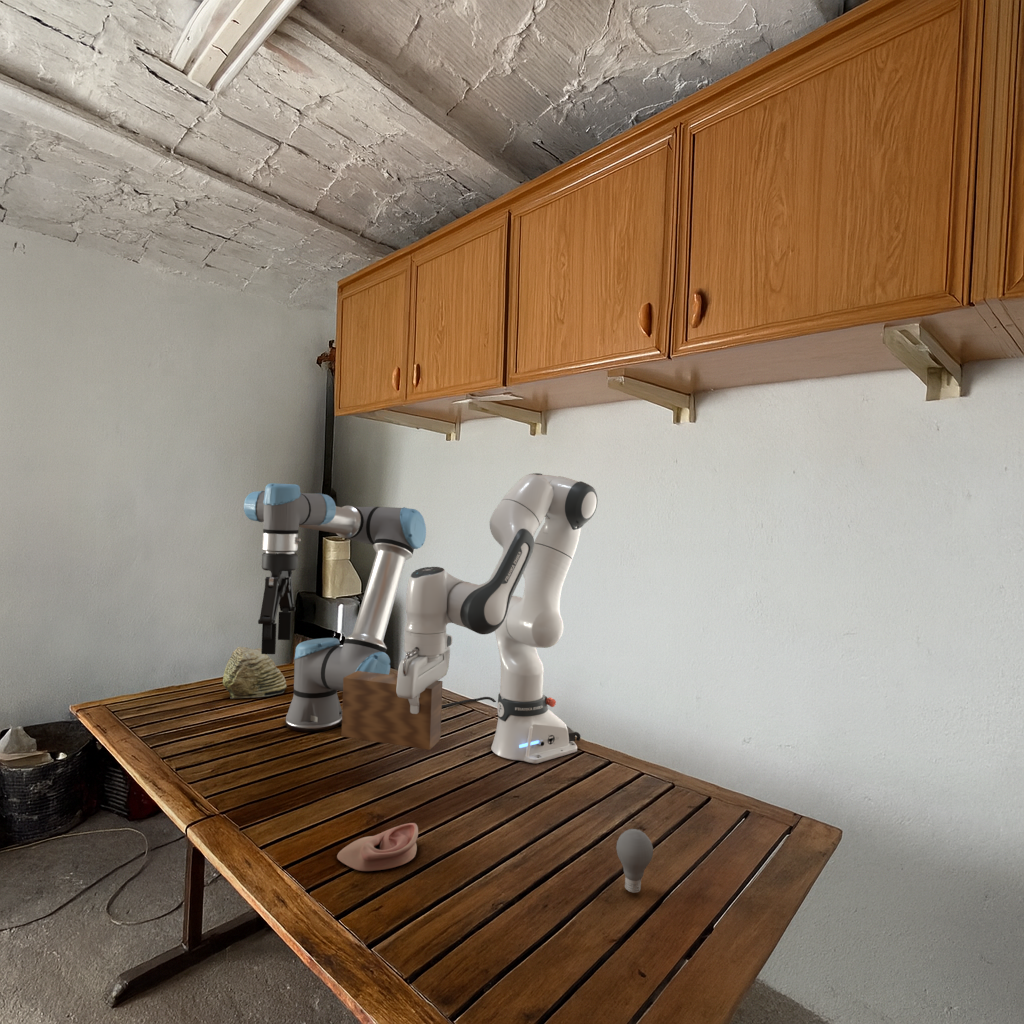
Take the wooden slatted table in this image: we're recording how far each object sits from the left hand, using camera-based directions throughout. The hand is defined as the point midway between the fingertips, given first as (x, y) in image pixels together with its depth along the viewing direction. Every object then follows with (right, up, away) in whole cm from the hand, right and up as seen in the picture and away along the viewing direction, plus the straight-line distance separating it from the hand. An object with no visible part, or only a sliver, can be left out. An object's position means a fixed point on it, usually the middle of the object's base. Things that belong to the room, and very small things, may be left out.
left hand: (276, 646), depth 142 cm
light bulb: (+73, -33, -37) cm, 88 cm away
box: (+27, -19, -4) cm, 33 cm away
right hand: (+34, -12, -6) cm, 36 cm away
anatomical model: (+29, -31, -29) cm, 52 cm away
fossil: (-28, -27, +56) cm, 68 cm away
